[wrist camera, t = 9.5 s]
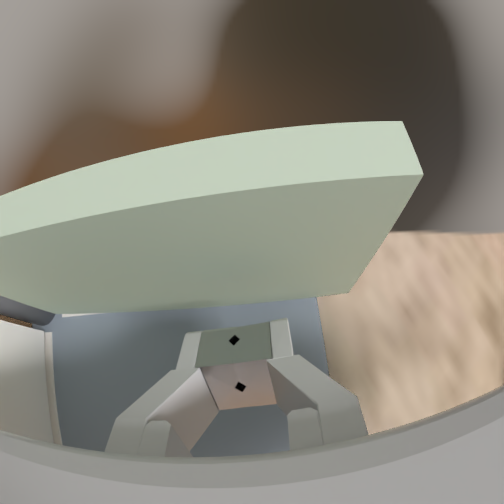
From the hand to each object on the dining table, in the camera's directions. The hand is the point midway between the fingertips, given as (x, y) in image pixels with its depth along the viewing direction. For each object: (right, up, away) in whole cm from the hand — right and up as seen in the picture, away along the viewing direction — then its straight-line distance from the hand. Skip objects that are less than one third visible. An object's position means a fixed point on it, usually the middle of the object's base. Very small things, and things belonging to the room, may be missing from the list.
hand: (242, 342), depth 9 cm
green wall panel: (-3, +1, +5) cm, 6 cm away
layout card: (-4, -4, +4) cm, 7 cm away
